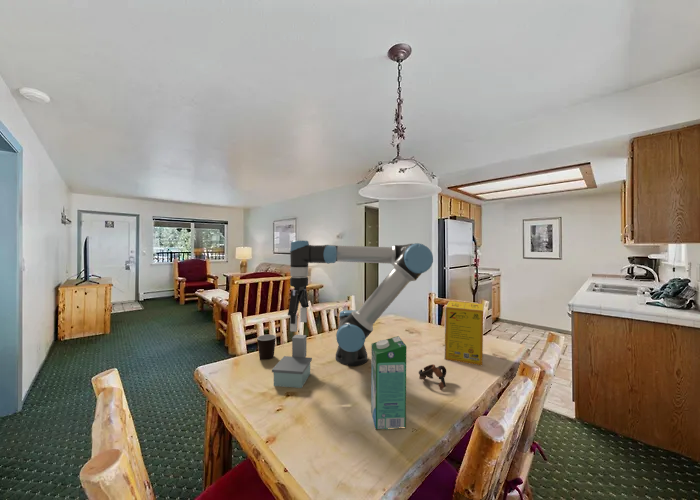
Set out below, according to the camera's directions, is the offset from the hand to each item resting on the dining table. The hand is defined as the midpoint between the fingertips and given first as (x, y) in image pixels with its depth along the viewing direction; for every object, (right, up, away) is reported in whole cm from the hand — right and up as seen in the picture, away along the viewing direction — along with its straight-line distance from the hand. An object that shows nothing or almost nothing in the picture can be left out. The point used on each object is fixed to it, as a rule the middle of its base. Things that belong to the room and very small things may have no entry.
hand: (298, 326), depth 121 cm
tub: (-1, -20, -8) cm, 21 cm away
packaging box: (+78, -20, +18) cm, 82 cm away
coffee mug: (-18, -19, +16) cm, 30 cm away
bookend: (-1, -13, -6) cm, 15 cm away
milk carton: (+34, -21, -33) cm, 51 cm away
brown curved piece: (+55, -20, -9) cm, 59 cm away
